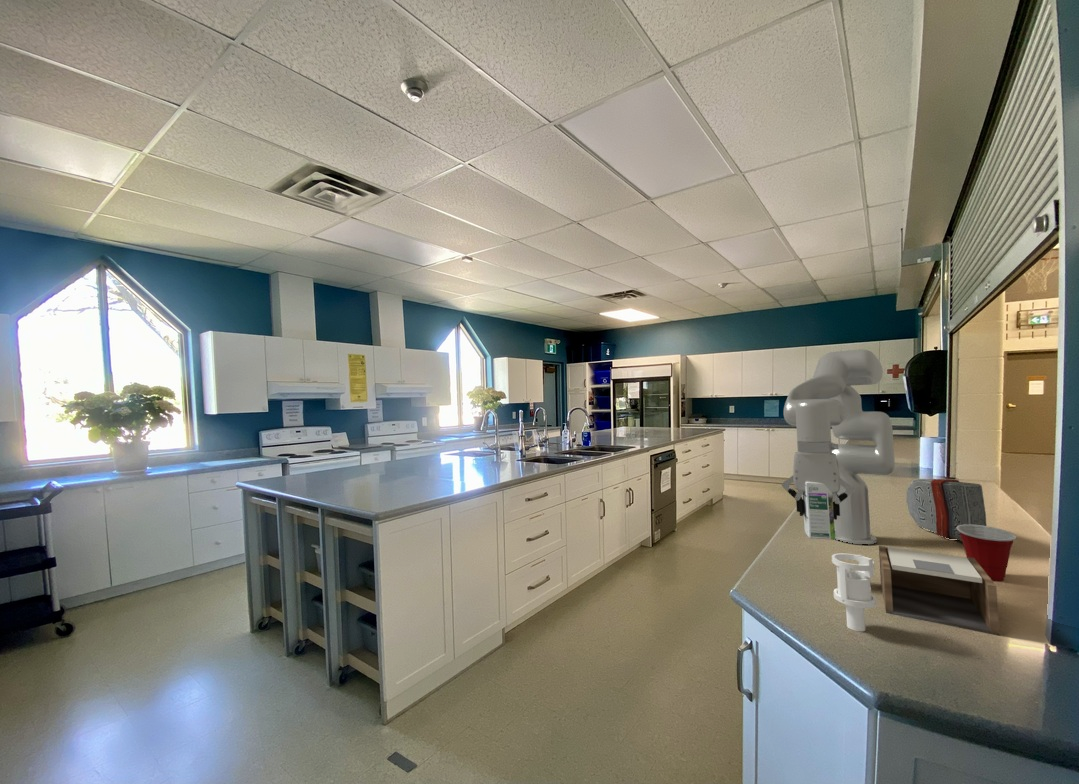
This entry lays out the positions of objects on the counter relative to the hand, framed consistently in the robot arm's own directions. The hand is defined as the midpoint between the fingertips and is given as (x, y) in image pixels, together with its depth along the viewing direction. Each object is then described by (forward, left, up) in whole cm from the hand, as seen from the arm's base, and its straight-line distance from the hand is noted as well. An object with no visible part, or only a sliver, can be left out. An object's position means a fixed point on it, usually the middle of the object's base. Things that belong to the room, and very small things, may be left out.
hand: (818, 515), depth 111 cm
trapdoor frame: (+4, +21, -17) cm, 27 cm away
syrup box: (0, 0, -5) cm, 5 cm away
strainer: (+24, +7, -17) cm, 30 cm away
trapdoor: (+4, +21, -8) cm, 23 cm away
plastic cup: (-24, +35, -17) cm, 46 cm away
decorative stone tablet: (-64, +32, -17) cm, 74 cm away
